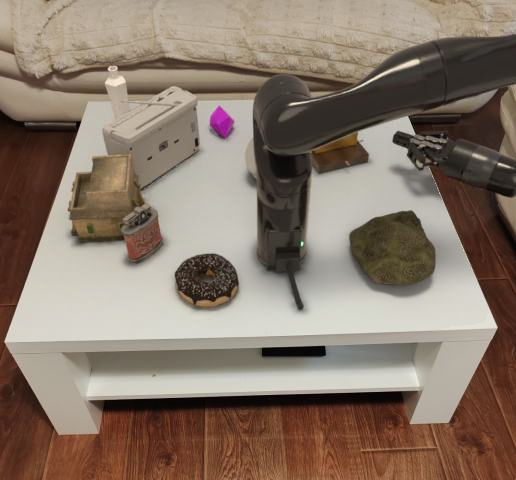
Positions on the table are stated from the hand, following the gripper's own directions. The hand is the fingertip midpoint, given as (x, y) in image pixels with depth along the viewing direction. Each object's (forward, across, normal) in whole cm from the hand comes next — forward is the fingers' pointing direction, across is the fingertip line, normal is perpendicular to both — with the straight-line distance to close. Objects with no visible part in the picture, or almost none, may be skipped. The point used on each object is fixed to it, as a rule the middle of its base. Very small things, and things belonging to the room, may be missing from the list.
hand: (394, 136), depth 119 cm
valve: (+23, +12, +8) cm, 27 cm away
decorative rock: (-14, +27, +8) cm, 31 cm away
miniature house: (+39, +47, +8) cm, 61 cm away
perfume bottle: (+58, +22, +8) cm, 62 cm away
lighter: (+26, +50, +8) cm, 57 cm away
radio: (+42, +28, +8) cm, 51 cm away
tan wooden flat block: (+12, +3, +5) cm, 14 cm away
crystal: (+39, +9, +8) cm, 41 cm away
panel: (+12, +3, +8) cm, 15 cm away
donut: (+11, +51, +8) cm, 53 cm away
